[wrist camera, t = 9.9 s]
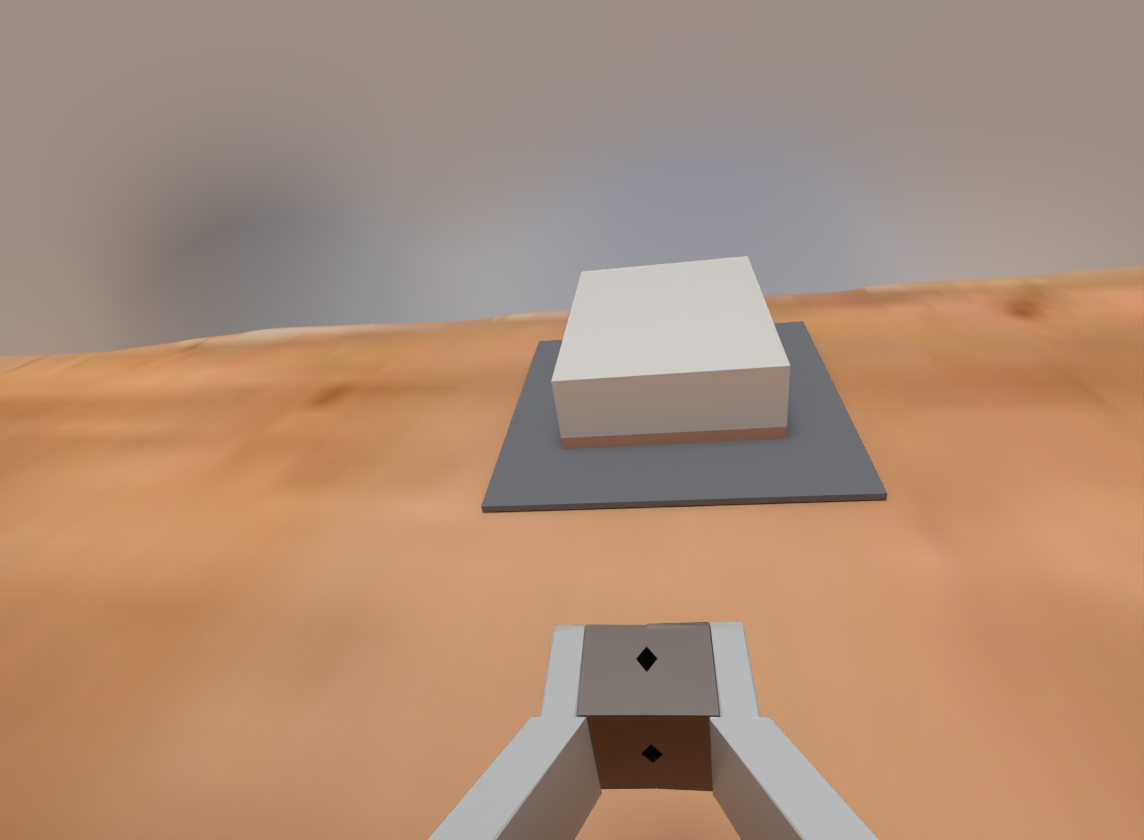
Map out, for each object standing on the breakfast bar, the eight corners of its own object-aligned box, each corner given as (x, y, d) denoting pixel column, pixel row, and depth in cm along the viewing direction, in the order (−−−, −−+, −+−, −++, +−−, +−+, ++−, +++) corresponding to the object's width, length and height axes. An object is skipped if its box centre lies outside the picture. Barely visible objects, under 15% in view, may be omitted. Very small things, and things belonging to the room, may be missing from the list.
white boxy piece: (551, 381, 27) (581, 271, 39) (562, 448, 29) (588, 324, 41) (790, 365, 26) (747, 256, 37) (786, 438, 28) (746, 312, 39)
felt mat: (482, 512, 27) (481, 506, 26) (539, 345, 40) (539, 341, 40) (885, 499, 24) (887, 493, 24) (802, 326, 37) (802, 321, 37)
